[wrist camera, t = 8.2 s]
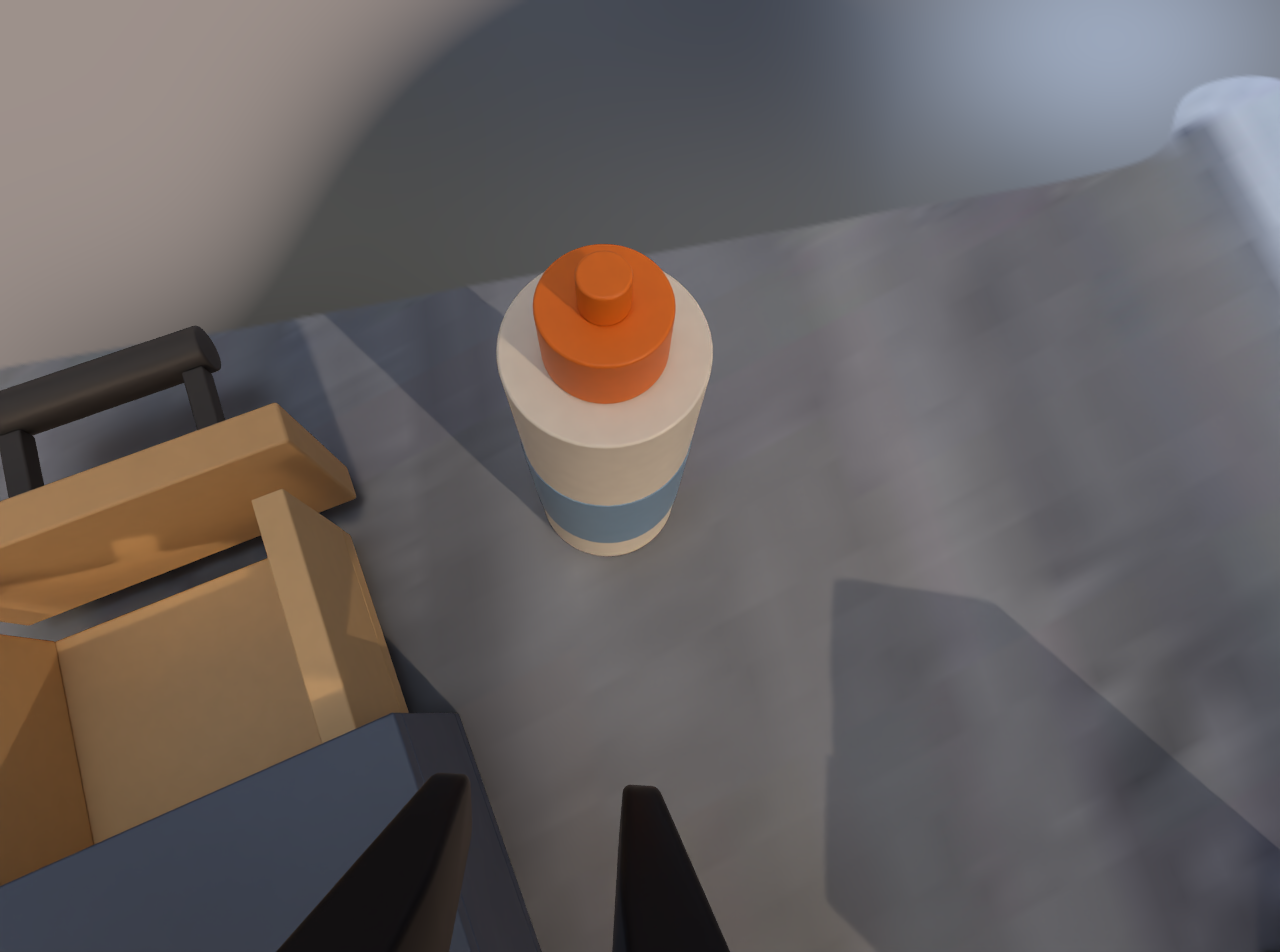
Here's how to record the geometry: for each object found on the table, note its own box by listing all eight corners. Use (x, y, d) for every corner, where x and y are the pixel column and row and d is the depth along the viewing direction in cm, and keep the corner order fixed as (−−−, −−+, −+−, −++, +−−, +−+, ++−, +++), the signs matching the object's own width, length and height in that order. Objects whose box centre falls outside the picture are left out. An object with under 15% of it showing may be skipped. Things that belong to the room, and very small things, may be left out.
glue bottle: (696, 525, 24) (780, 336, 12) (571, 578, 23) (527, 434, 11) (641, 412, 25) (668, 136, 13) (522, 459, 24) (434, 214, 12)
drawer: (-2, 460, 23) (-169, 392, 18) (308, 351, 24) (232, 261, 19) (110, 1078, 18) (-79, 1216, 13) (490, 889, 19) (449, 949, 14)
